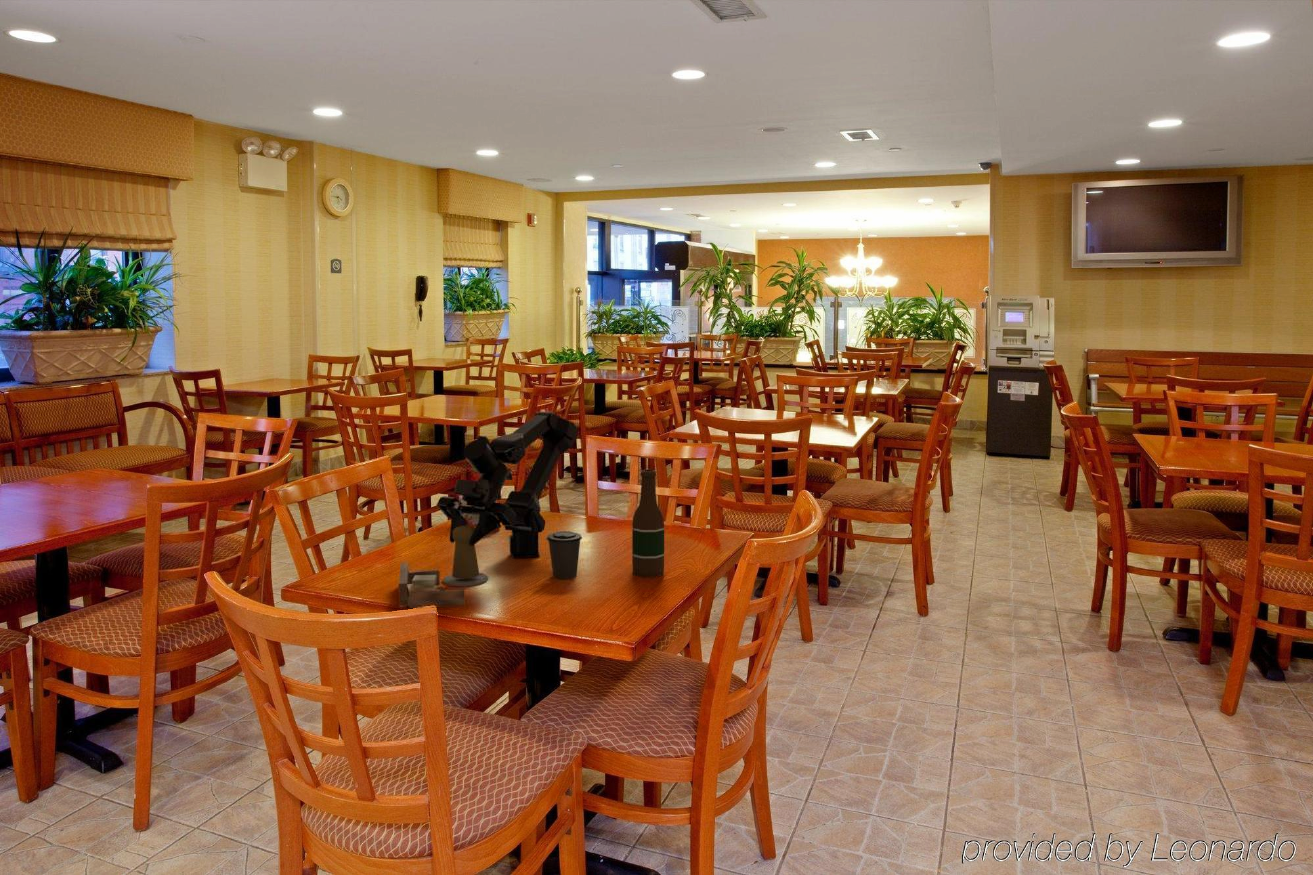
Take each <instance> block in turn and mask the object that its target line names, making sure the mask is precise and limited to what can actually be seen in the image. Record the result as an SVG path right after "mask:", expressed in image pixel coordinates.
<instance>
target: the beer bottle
mask: <svg viewBox="0 0 1313 875" xmlns="http://www.w3.org/2000/svg"><path fill="white" fill-rule="evenodd" d="M640 476H641V484H640V485H641V486H640V487H641V488H640V499H639V504H638V506H637V507H636V509H635V510H634V513H633V516H632V524H631V526H632V527H631V530H632V531H631V532H632V533H631V534H632V536H631V537H632V538H631V539H632V540H631V542H632V543H631V544H632V547H631V548H632V549H631V550H632V551H631V553H632V554H631V555H632V556H631V557H632V558H631V560H632V564H631V565H632V574H633V575H634V576H637V577H640V576H641V578H656V576H657V577H660V576H663V575H664V571H665V519H664V516H663V513H662V510H661V509H660V507H659V505H658V503H657V491H656V477H657V472H656V470H654V469H643V470H641V471H640ZM662 574H663V575H662ZM659 575H660V576H659Z"/></svg>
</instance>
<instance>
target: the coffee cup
mask: <svg viewBox="0 0 1313 875" xmlns="http://www.w3.org/2000/svg"><path fill="white" fill-rule="evenodd" d="M582 539H583V536H582V535H581V534H580V533H578V532H574V531H566V530H565V531H564V530H562V531H556V532H553V533H550V534H548V535H547V537H546V540H547V541H548V548H549V554H550V561H551V562H550V563H551V569H552V570H551V571H552V577H553V578H554V579H559V580H571V579H574V578H576V577H577V574H578V566H579V557H580V556H579V555H580V546H581V541H582Z"/></svg>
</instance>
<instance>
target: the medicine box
mask: <svg viewBox="0 0 1313 875" xmlns="http://www.w3.org/2000/svg"><path fill="white" fill-rule="evenodd" d="M462 497H463V496H462V495H459V496H458V501H459V502H460V503H461V504H464V505H466V503H467V502H466V501H464V500H463V499H462ZM495 502H496V503H500V502H499V501H498V500H496V501H495ZM464 518H465V519H466V520H467V521H468V524H467V525H466V526H472V527H474V528H476V526H477V524H478V522H479V515H474V514H467V513H466V514H465V517H464ZM500 530H501V527H500V528H497V529H495V530H494V531H492V532H500ZM492 532H491V533H492Z"/></svg>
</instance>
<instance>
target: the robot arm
mask: <svg viewBox="0 0 1313 875" xmlns="http://www.w3.org/2000/svg"><path fill="white" fill-rule="evenodd" d="M578 436H579V429H578V426H576V425H575V423H574V421H570V420H567V419H565V418H563V417H561V416H559V415H557V414H556V413H554V412H551V411H549V412H548V411H538V412H536V413H534V414H533V417H531V418H530V419H528V420H527V422H525V423H523V424H522V425H520V426H519V428H517V429H516V430H514V431H513V432H512V433H509V434H504V435H500V436H498V437H495V438H493V439H492V440H491V441H490V440H489V439H488V437H487V436H482V435H478V436H477V438H476V439H474V440H472V441H471V442H469V443H468V444H467V445H465V447H463V448H464V450H463V452H462V453H463V456H464V457H465V459H466V460H467V462H468V463H469V464H470V465H471V467H472V469H473V470H474V472H476V473H478V474H480V475H479V478H478V479H477V480H468V479H460V478H459V479H458V478H457V479H456V481H455V482H456V483H455V487H454V491H453V494H454V495H459V496H463V497H462V499H463V500H464V501H466V502H467V503H466V505H464V504H461V503H460V502H459V499H458V498H457V497H453V496H445V495H443V496H441V497H440V498H439V499H438V501H437V503H436V507H437V508H438V509H439V510H440V512H442V514H443V515H445V517H446V518H449V519H450V533H449V542H450V543H452V544H453V543H454V542H455V541H454V539H453V530H454V529H455V528H456V527H459V526H466V525H467V524H468V521H467V520H466V519H465V518H464V517H465V514H466V513H467V514H474V515H479V522H478V524H477V526H476V528H475V530H474V532H473V535H472V537H471V540H470V542H469V544H470V545H471V546H473V545H474V544H477V543H478V542H480V541H481V540H482V539H484V538H485V537H487V536H488V535H489V534H490V533H492V531H494V530H495V529H497V528H500V529H501V528H502V526H504V530H505V531H511V534H510V535H509V537H508V540H509V554H510V555H512V558H513V559H518V558H520V559H521V558H522V559H523V558H537V557H538V558H539V557H541V554H540V552H539V534H540V533H543V531H544V530H545V527H546V520H545V519H544V517H543V516H542V515H541V513H540V512H541V504H540V498H541V495H542V493H543V491H544V489H545V487H546V486H547V483H548V482H549V479H550V477H551V475H552V473H553V471H554V469H555V467H556V465H557V463H558V461H559V459H560V457H561V455H562V454H564V453H566V452H567V451H568V450H570V449H571V448H572V447H573V445H574V444H575V442H576V440H577V438H578ZM539 438H541V439H542V440H541V441H542V446H541V450H540V452H539V453H538V455H537V457H536V459H535V461H534V463H533V465H532V467H531V469H530V471H529V473H528V475H527V477H526V479H525V481H524V483H523V485H522V487H521V489H520V490H519V491H516V490H511V491H510V492H509V493H508V496H507V498H506V500H505V501H504V502H499V503H496V502H495V501H501V499H502V495H501V494H500V493H501V490H502V489H503V486H504V484H505V483H506V481H507V480H508V481H512V480H513V478H514V477H513V474H512V470H511V468H508V466H507V465H508V464H509V465H518V464H519V463H520V462H521V461H522V459H523V458H524V457H525V456H526V450H527V448H528V447H529V446H531V445H532V444H533V443H534V442H536V441H537V440H538V439H539ZM506 464H507V465H506ZM494 532H495V531H494Z"/></svg>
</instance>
